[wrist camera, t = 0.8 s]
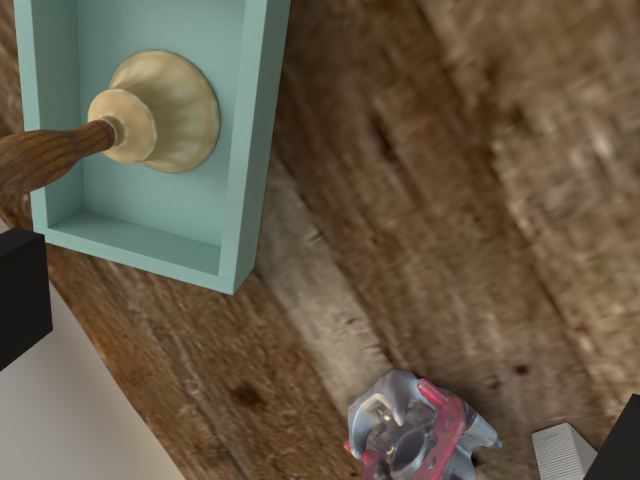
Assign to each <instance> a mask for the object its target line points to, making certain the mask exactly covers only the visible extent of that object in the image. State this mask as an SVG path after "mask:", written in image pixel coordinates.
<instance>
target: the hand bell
mask: <svg viewBox="0 0 640 480" xmlns="http://www.w3.org/2000/svg"><path fill="white" fill-rule="evenodd" d="M220 120H221V118H220V112H219V106H218V102H217V99H216V96H215V94H214V92H213V89H212V87H211V85H210V84H209V82H208V80H207V79H206V78H205V76H204V75H203V74H202V73H201V71H200V70H199V69H198V68H197V67H195V66H194V65H193V64H192V63H191V62H189V61H188V60H186V59H185V58H183V57H181V56H179V55H177V54H175V53H172V52H169V51H165V50H158V49H150V50H145V51H141V52H138V53H135V54H133V55H132V56H130V57H128V58H127V59H126V60H125V61H124V62H123V63H122V64H121V65H120V66H119V67H118V69H117V70H116V72H115V73H114V75H113V77H112V79H111V82H110V85H109V88H108V90H106V91H103V92H101V93H100V94H99V95H98V96H97V97H96V98H95V99H94V100H93V102H92V104H91V106H90V109H89V112H88V123H87V124H84V125H82V126H79V127H76V128H74V129H71V130H66V131H57V130H49V129H40V130H32V131H25V132H20V133H16V134H13V135H10V136H7V137H4V138H2V139H0V195H11V194H22V193H27V192H31V191H35V190H37V189H40V188H42V187H45V186H47V185H49V184H51V183H53V182H54V181H56V180H58V179H59V178H61V177H62V176H64V175H65V174H66V173H67V172H69V171H70V170H71V168H72V167H73V166H74V165H75V164H76V163H77V162H78V161H79V160H80V159H82V158H84V157H87V156H90V155H93V154H96V153H99V152H103V153H104V154H105V155H106V156H108V157H109V158H111V159H113V160H115V161H117V162H120V163H125V164H134V163H139V162H140V163H142V164H143V165H145V166H147V167H149V168H151V169H154V170H157V171H160V172H165V173H181V172H186V171H189V170H191V169H194V168H196V167H198V166H199V165H200V164H202V163H203V162H204V161H205V160H206V159H207V158H208V157H209V156H210V154H211V153H212V151H213V150H214V148H215V145H216V143H217V140H218V136H219V132H220Z"/></svg>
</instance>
